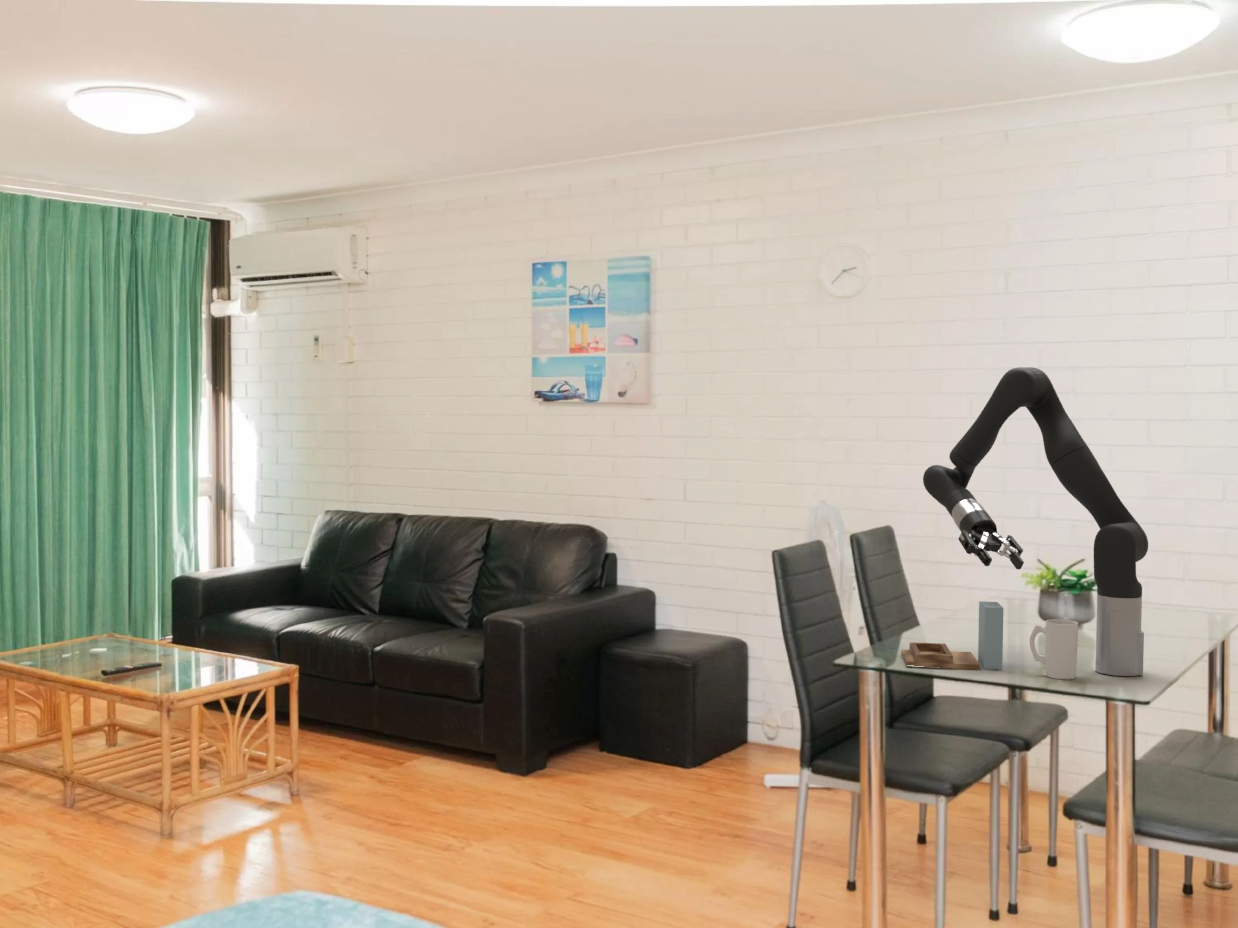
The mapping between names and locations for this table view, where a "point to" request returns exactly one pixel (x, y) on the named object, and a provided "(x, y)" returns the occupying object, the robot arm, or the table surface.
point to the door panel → (990, 635)
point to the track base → (938, 657)
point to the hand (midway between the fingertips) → (1005, 564)
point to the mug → (1058, 648)
